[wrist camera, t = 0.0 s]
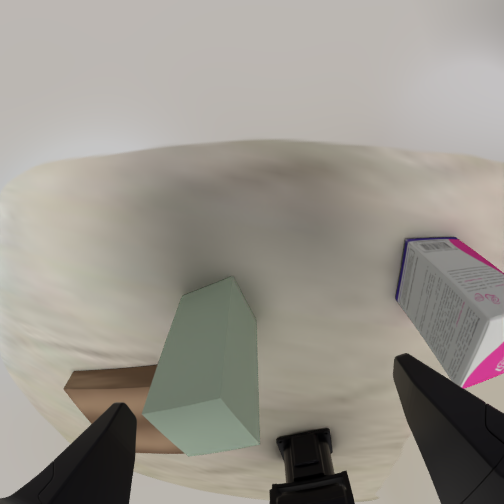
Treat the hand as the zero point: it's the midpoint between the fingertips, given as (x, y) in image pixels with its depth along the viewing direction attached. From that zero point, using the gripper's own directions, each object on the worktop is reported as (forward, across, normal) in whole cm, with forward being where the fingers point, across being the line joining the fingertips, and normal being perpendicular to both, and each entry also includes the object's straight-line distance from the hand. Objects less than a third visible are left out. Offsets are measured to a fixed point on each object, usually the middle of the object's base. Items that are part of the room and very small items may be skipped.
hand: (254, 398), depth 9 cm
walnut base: (+15, +17, +16) cm, 28 cm away
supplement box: (+15, -14, +6) cm, 21 cm away
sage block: (+15, +4, +5) cm, 16 cm away
